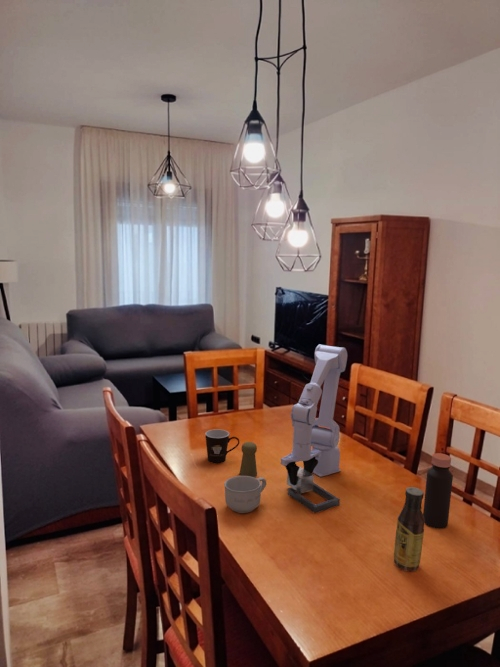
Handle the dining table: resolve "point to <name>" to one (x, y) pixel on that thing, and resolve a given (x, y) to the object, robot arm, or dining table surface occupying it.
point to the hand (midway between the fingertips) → (299, 482)
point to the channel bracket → (311, 506)
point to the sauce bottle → (410, 532)
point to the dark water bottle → (438, 492)
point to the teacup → (243, 493)
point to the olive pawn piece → (248, 460)
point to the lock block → (302, 481)
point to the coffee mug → (218, 445)
